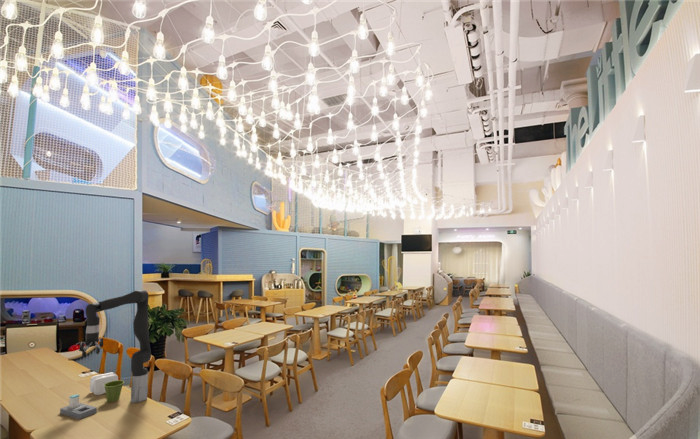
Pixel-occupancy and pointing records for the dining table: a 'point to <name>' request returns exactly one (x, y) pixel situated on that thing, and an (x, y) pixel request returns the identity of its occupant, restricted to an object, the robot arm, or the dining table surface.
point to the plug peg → (74, 401)
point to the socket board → (78, 411)
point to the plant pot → (113, 390)
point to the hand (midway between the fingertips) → (90, 355)
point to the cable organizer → (101, 382)
